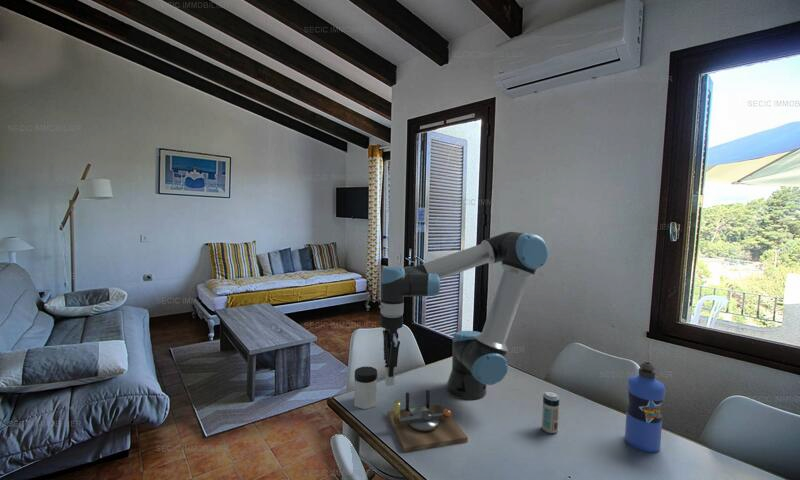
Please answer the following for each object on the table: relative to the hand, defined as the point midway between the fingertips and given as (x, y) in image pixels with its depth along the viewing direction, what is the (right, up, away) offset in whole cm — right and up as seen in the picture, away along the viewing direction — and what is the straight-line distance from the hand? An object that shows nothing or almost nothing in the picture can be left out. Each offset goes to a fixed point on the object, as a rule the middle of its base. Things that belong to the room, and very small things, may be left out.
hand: (389, 384), depth 122 cm
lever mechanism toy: (+11, -12, -4) cm, 17 cm away
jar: (-9, -11, +11) cm, 18 cm away
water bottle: (+77, -14, -10) cm, 79 cm away
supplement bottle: (+52, -13, -4) cm, 53 cm away
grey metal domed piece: (+11, -11, -4) cm, 16 cm away
